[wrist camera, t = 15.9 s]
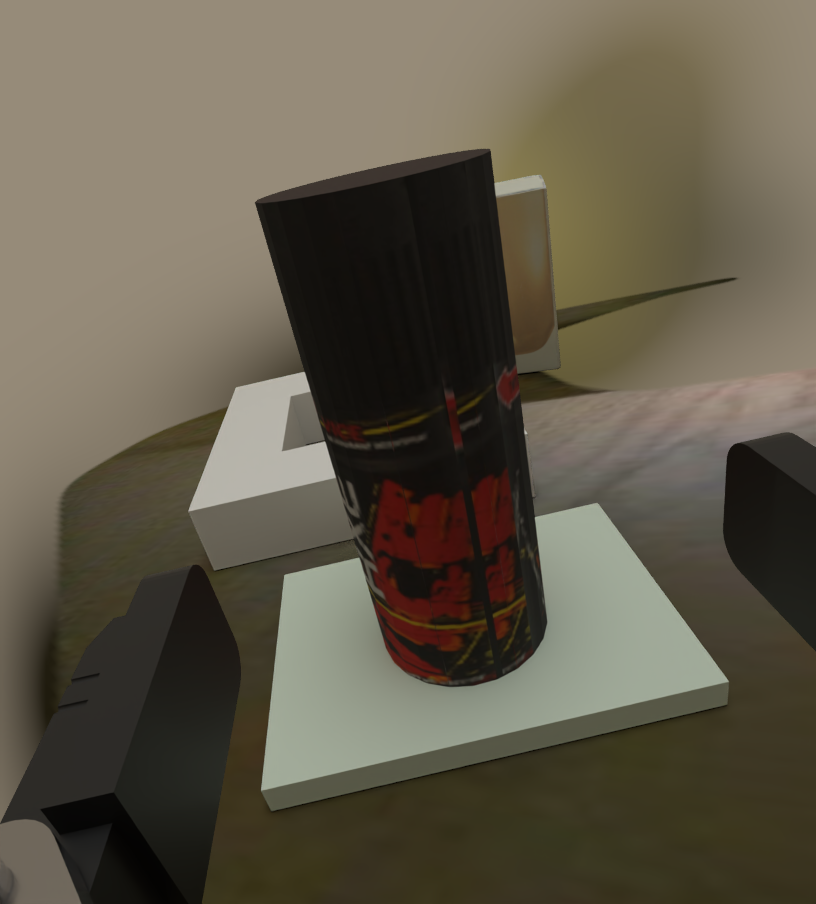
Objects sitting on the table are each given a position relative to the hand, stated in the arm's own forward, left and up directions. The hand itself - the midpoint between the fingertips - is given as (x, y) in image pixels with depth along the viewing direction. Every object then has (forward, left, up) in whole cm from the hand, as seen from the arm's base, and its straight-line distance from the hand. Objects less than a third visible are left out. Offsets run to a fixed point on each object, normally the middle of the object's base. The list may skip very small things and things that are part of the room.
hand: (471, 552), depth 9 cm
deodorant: (0, -9, -10) cm, 14 cm away
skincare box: (-10, -35, -11) cm, 39 cm away
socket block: (+3, -25, -11) cm, 28 cm away
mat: (0, -9, -11) cm, 15 cm away
